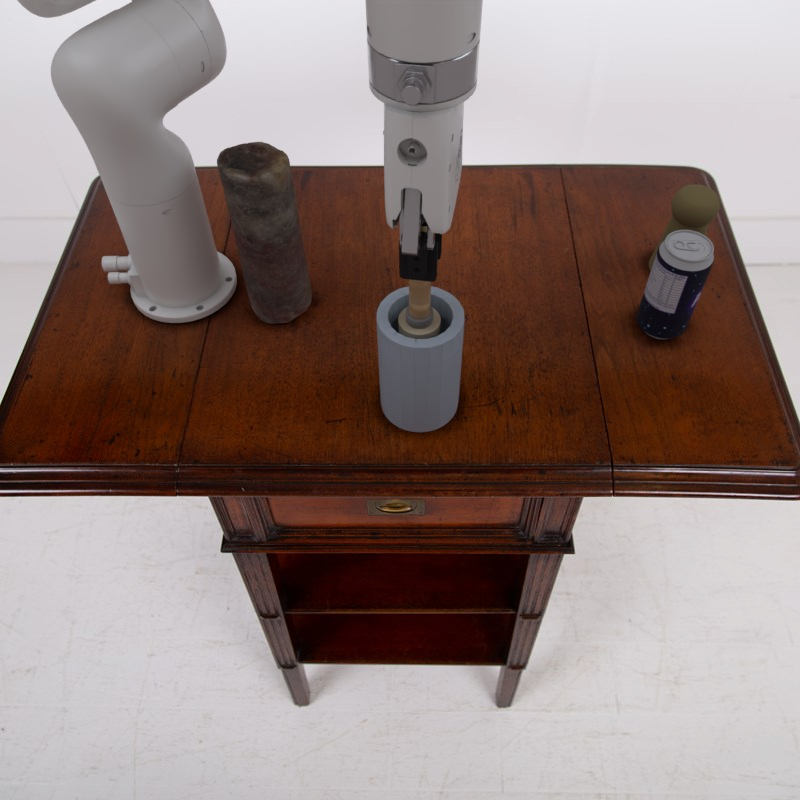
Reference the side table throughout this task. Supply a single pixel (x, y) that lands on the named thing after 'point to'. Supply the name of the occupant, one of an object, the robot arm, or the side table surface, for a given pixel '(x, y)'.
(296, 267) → the brown rough cylinder
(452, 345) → the grey hollow tube
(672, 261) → the beverage can
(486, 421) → the side table surface
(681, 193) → the olive pawn
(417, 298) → the brush
